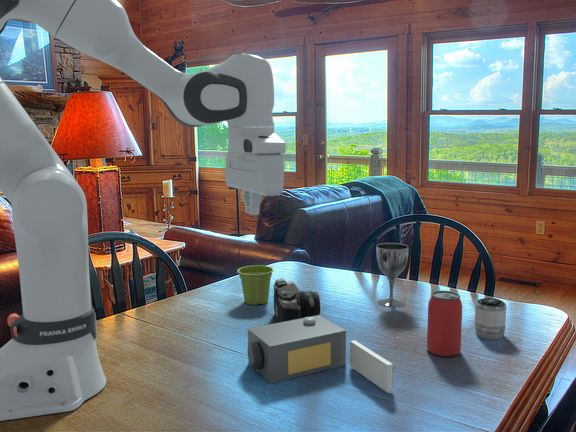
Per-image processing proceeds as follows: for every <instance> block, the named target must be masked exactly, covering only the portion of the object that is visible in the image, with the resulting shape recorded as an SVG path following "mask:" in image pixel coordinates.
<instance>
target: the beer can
mask: <svg viewBox="0 0 576 432" xmlns="http://www.w3.org/2000/svg"><path fill="white" fill-rule="evenodd" d="M430 295H431V296H430V298H429V300H428V304H427V331H426V334H427V336H426V350H428V352H430V353H431V354H432V355H435V356H438V357H442V358H444V357H445V358H446V357H447V358H448V357H449V358H450V357H455V356H457V355H458V354H460V352H461V349H462V348H461V347H462V344H461V343H462V325H463V324H462V322H463V321H462V320H463V303H462V300H461V295H460V294H459V293H458V292H455V291H450V290H436V291H433V292H431V294H430Z"/></svg>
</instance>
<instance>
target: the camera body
mask: <svg viewBox="0 0 576 432" xmlns="http://www.w3.org/2000/svg"><path fill="white" fill-rule="evenodd" d="M346 350H347V330H346V329H344V328H342V327H341V326H339V325H337V324H336V323H334V322H332V321H330V320H328V319H327V318H325V317H323V316H322V315H317V316H311V317H305V318H301V319H296V320H291V321H285V322H280V323H279V322H275V323H270V324H266V325H260V326H256V327H255V326H254V327H250V328H247V360H248V364H249V365H250V367H251V368H252V370H255V371H257V372H258V373H259V374H260V375H261V376H262V377H263V378H264V379H265V380H267V382H269V383H270V384H274V383H279V382H282V381H283V382H284V381H287V380H290V379H295V378H299V377H304V376H307V375H311V374H315V373H319V372H323V371H327V370H331V369H335V368H339V367H340V368H341V367H343V366H347V365H346V364H347V363H346V362H347V361H346V360H347V358H346V357H347V355H346V354H347V351H346Z"/></svg>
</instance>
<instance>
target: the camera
mask: <svg viewBox="0 0 576 432" xmlns="http://www.w3.org/2000/svg"><path fill="white" fill-rule="evenodd" d="M273 309H274V310H273V311H274V315H275V317H276V319H277V321H278V323H280V322H285V321H291V320H296V319H301V318H305V317H311V316H317V315H320V314H321V299H320V295H319V293H318V292H317V291H312V290H310V291H307V290H300V289H299V287H298V286H297V284H296V283H295V282H294V281H293V280H291V281H287V280H285V279H284V278H283V277H281V278H277V279H276V280H275V282H274V284H273ZM320 316H321V315H320Z"/></svg>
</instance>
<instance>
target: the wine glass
mask: <svg viewBox="0 0 576 432" xmlns="http://www.w3.org/2000/svg"><path fill="white" fill-rule="evenodd" d="M375 251H376V259H377V260H376V261H377V265H378V268H379V269H380V271H381V272H382V273H383V275H385V277H386V279H387V282H388V283H389V297H387V298H381V299H379V300H377V301H376V302H377V305H379V306H381V307H385V308H400V307H401V308H402V307H404V306H405V305H406V302H405V300H404V301H403V300H401V299H398V298H394V287H395V282H396V279H397V278H398V277H399V276H400V275H401V274H402V272H403V271H404V270H405V268H406V267H407V263H408V259H409V258H408V257H409V245H407V244H406V243H400V242H381V243H378V244H376V250H375Z"/></svg>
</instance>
